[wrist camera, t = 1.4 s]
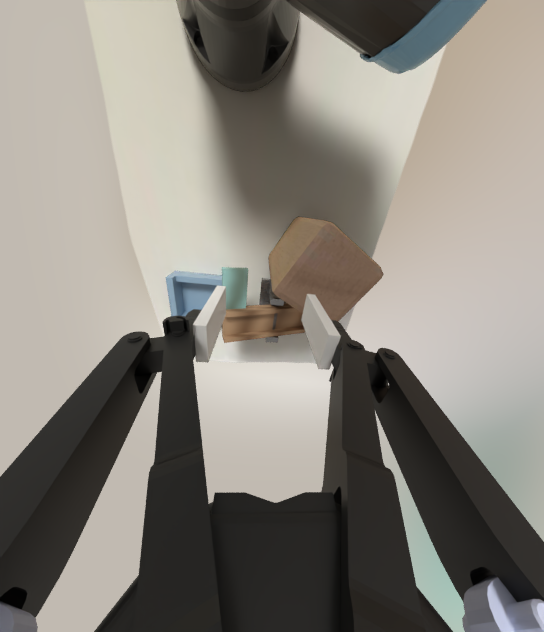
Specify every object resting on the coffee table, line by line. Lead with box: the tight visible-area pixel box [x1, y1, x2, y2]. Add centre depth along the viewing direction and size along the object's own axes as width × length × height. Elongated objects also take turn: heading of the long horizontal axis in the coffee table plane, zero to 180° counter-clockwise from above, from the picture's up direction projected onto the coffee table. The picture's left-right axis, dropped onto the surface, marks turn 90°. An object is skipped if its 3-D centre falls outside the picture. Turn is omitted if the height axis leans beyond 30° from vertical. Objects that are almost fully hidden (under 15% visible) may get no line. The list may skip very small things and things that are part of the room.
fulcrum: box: [259, 278, 286, 342], centre depth 41 cm, size 6×11×9 cm, turn 173°
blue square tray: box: [166, 271, 222, 317], centre depth 41 cm, size 10×10×4 cm
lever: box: [222, 267, 305, 343], centre depth 35 cm, size 20×13×4 cm, turn 84°
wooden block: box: [269, 217, 383, 322], centre depth 31 cm, size 10×10×20 cm
